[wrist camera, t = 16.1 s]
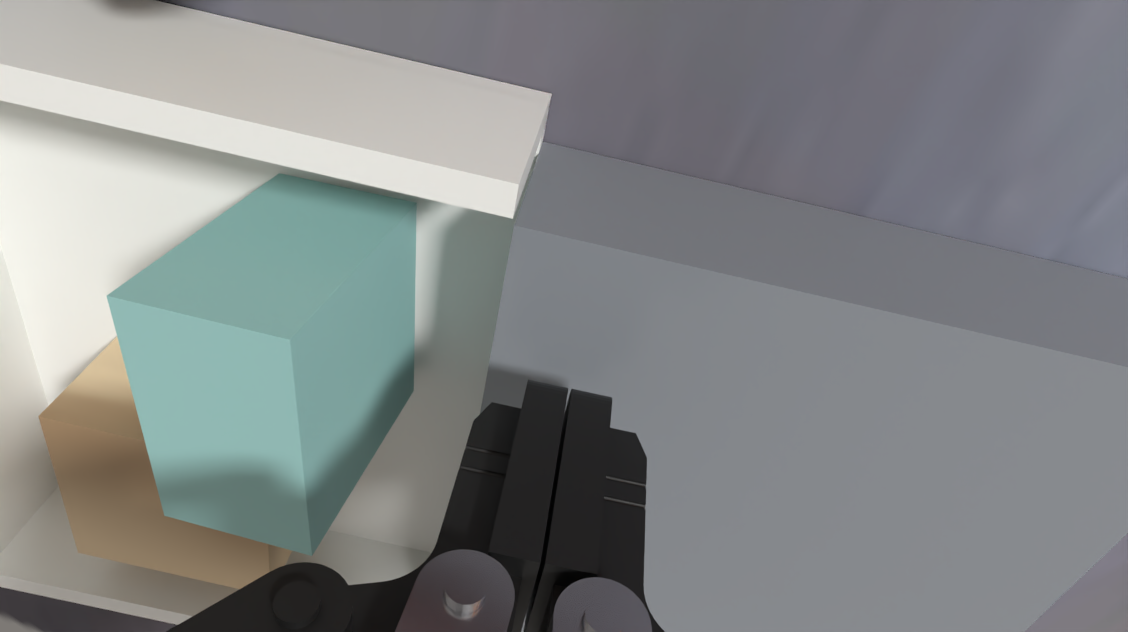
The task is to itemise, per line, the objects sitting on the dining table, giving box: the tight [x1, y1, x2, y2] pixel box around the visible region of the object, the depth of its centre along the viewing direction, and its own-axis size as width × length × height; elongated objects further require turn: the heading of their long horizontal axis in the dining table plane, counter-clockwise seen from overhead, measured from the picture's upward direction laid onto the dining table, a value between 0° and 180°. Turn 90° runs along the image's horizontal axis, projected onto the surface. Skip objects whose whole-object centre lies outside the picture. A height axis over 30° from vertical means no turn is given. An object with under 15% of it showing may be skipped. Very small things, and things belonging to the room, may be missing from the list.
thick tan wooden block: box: [38, 337, 292, 589], centre depth 19 cm, size 5×5×3 cm
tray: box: [0, 0, 552, 625], centre depth 17 cm, size 15×12×4 cm
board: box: [480, 142, 1128, 632], centre depth 18 cm, size 13×13×4 cm
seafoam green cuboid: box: [107, 173, 417, 556], centre depth 15 cm, size 5×5×3 cm
